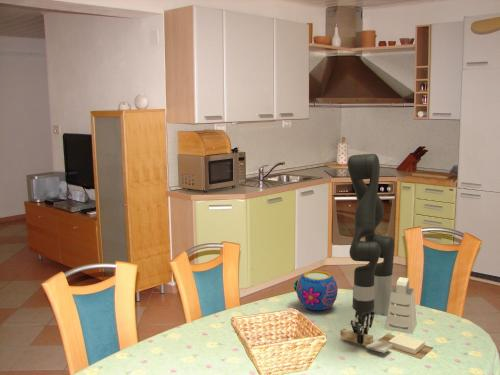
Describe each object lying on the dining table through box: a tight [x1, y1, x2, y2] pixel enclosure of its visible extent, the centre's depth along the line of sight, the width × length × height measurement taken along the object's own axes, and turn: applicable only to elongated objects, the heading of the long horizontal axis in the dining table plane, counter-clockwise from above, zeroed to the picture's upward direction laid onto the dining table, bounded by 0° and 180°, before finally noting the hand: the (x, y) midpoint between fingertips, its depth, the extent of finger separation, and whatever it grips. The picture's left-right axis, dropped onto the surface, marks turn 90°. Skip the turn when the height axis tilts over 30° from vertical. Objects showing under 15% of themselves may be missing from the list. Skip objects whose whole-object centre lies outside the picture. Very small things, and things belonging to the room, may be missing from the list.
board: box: [377, 333, 434, 360], centre depth 191 cm, size 11×18×1 cm, turn 49°
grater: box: [384, 276, 418, 335], centre depth 206 cm, size 10×10×20 cm
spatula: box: [340, 328, 392, 354], centre depth 189 cm, size 18×6×3 cm, turn 49°
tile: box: [388, 333, 426, 355], centre depth 190 cm, size 8×2×10 cm
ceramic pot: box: [293, 270, 339, 311], centre depth 227 cm, size 18×18×15 cm
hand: (362, 341), depth 190 cm, fingers closed on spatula, 2 cm apart
